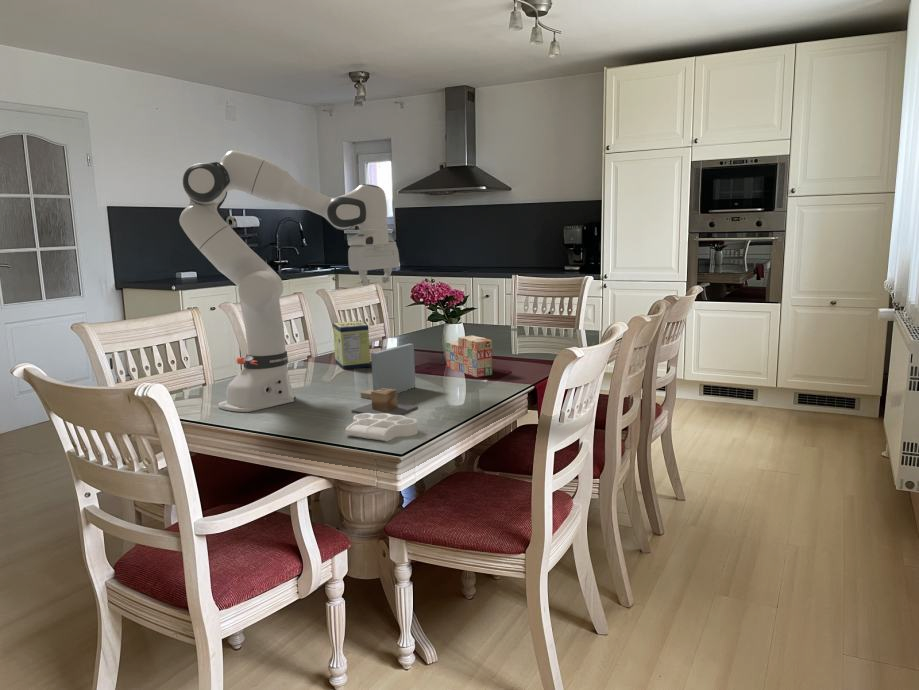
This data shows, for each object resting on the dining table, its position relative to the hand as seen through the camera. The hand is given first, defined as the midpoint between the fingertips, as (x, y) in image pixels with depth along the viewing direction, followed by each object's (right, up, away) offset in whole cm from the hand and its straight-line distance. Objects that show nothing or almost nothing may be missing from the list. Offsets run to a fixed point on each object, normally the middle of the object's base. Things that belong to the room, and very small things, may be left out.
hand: (376, 284), depth 208 cm
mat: (+5, -37, -21) cm, 43 cm away
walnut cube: (+5, -36, -21) cm, 42 cm away
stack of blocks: (+29, -28, +28) cm, 49 cm away
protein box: (-15, -27, +45) cm, 54 cm away
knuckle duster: (+6, -41, -40) cm, 58 cm away
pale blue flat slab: (+4, -33, 0) cm, 34 cm away
